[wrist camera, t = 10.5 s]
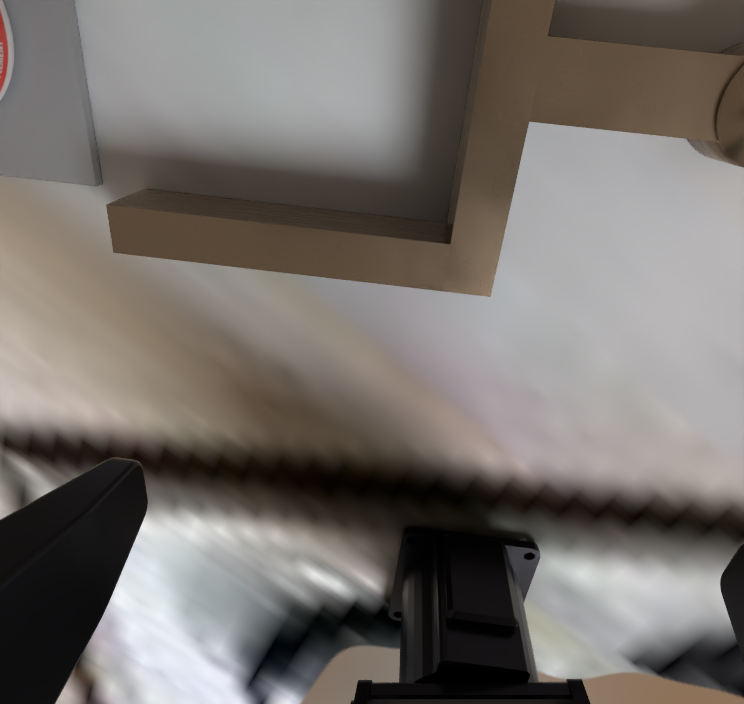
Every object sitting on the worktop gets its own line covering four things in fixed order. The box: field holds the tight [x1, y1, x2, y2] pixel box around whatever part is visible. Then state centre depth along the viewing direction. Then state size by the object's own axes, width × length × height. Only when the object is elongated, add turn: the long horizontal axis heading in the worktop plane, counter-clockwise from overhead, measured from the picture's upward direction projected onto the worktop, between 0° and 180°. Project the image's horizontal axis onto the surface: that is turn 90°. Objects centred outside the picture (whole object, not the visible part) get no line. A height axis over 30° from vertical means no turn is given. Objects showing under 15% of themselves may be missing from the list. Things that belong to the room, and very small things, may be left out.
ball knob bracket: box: [106, 0, 744, 297], centre depth 14 cm, size 12×20×2 cm, turn 85°
